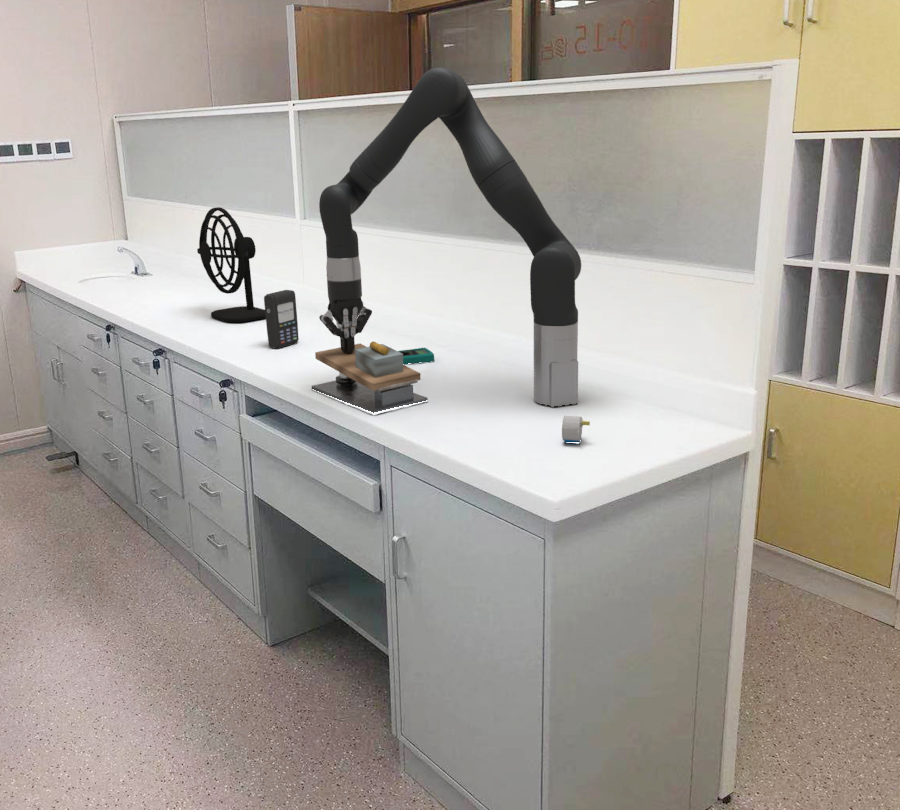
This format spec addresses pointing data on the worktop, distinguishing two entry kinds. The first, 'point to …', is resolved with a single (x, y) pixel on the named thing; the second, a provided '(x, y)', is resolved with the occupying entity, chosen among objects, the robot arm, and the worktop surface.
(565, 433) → the electric motor
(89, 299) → the worktop surface
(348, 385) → the levelling stand
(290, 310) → the card reader
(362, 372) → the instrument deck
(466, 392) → the worktop surface
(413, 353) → the digital multimeter
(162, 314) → the worktop surface
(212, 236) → the desk fan
